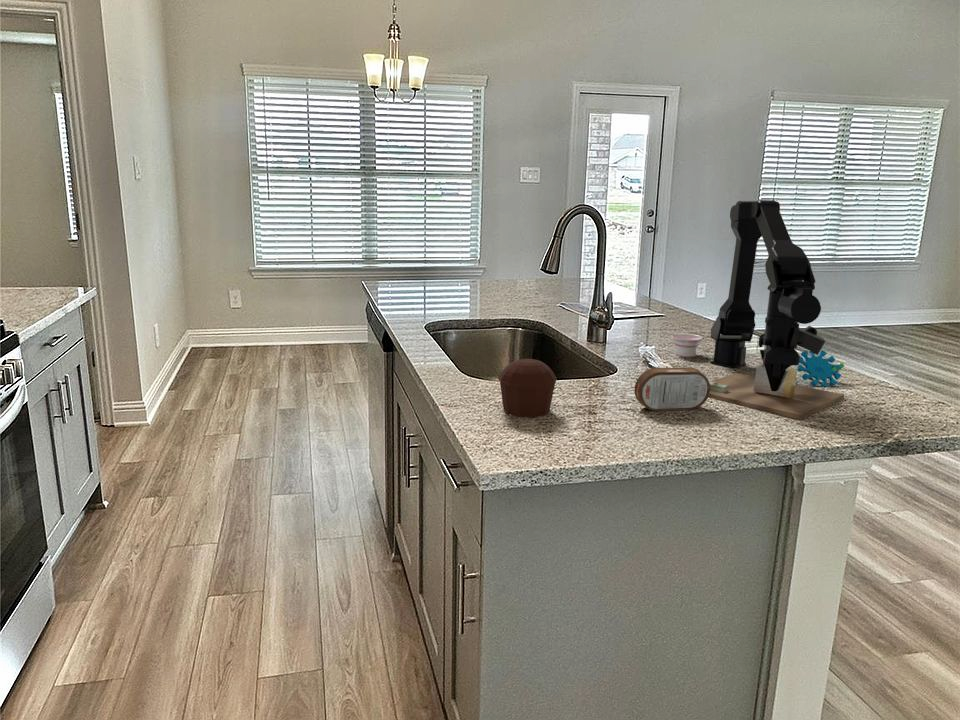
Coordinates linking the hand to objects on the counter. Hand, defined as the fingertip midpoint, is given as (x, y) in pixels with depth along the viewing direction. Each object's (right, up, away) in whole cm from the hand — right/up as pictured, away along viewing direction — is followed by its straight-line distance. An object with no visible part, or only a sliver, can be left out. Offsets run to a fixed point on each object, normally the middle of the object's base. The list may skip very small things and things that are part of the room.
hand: (773, 388), depth 147 cm
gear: (+16, -1, +11) cm, 19 cm away
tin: (-24, -4, -8) cm, 25 cm away
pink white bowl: (-8, +6, +36) cm, 37 cm away
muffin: (-53, -4, -11) cm, 54 cm away
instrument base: (-1, -2, +3) cm, 3 cm away
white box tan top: (0, -1, 0) cm, 1 cm away
